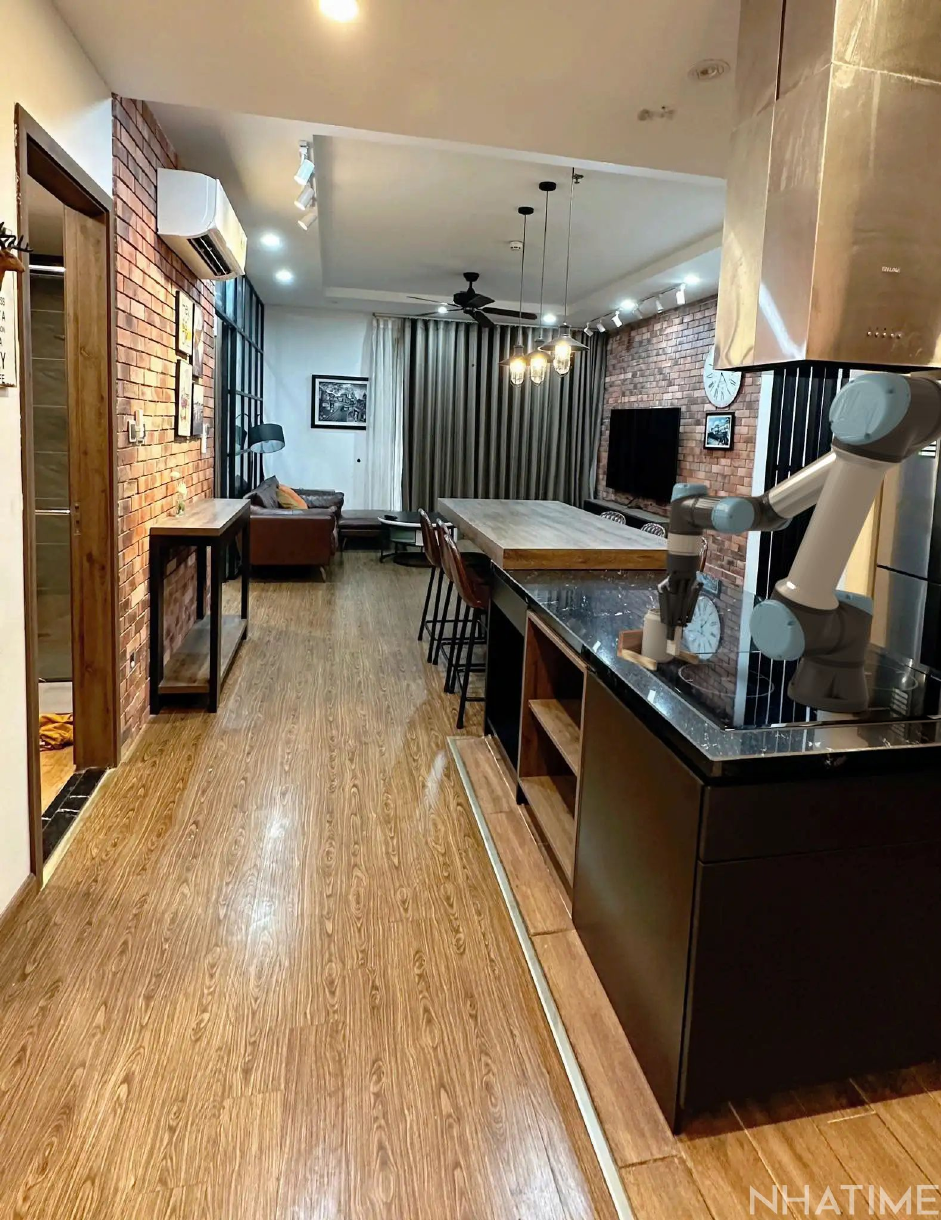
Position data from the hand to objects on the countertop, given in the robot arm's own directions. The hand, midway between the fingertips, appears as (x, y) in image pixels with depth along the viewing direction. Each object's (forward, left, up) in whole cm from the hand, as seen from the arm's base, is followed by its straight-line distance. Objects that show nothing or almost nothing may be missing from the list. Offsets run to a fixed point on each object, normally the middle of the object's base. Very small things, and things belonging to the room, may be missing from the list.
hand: (672, 653), depth 178 cm
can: (+5, 0, -3) cm, 6 cm away
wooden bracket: (+6, 0, -3) cm, 6 cm away
